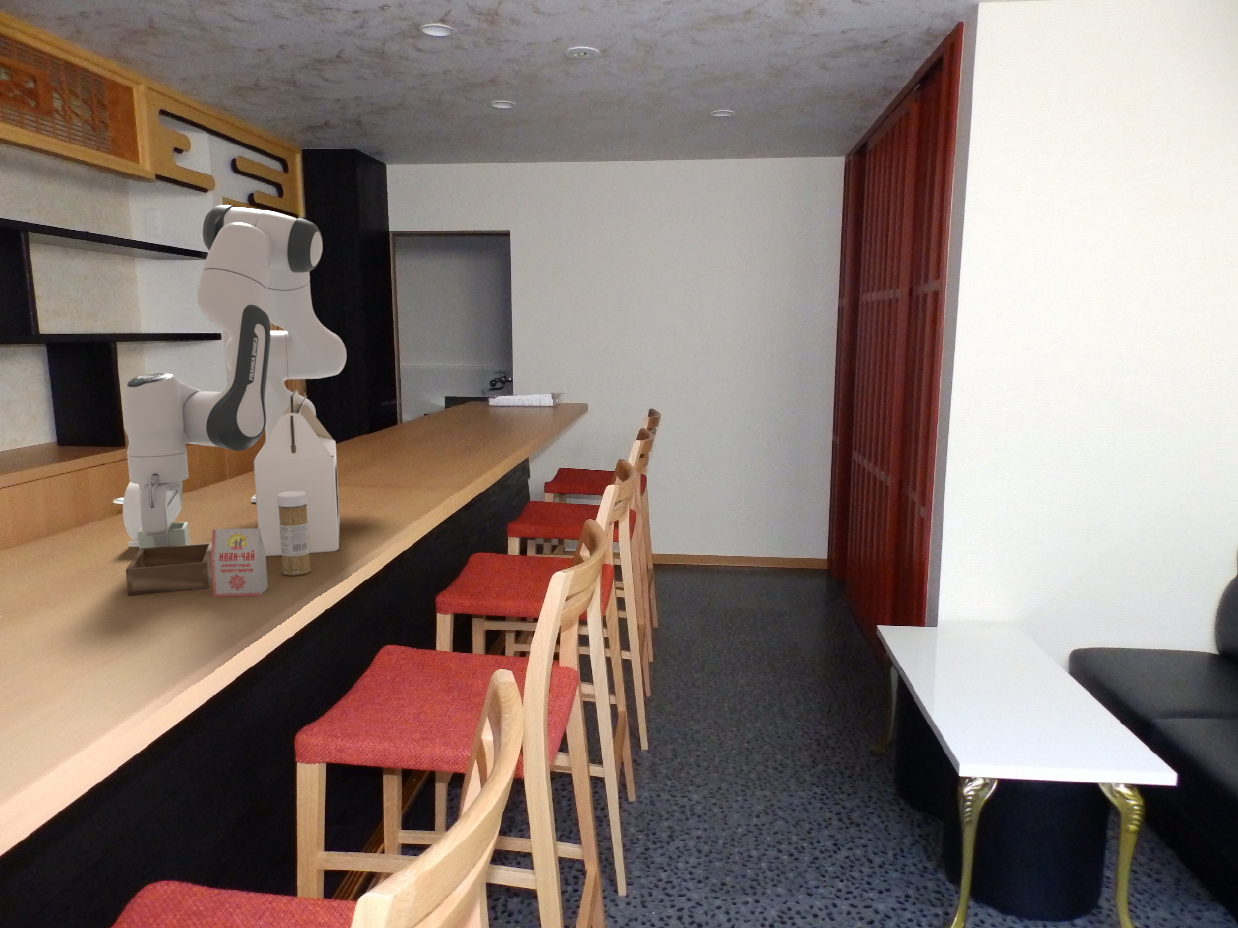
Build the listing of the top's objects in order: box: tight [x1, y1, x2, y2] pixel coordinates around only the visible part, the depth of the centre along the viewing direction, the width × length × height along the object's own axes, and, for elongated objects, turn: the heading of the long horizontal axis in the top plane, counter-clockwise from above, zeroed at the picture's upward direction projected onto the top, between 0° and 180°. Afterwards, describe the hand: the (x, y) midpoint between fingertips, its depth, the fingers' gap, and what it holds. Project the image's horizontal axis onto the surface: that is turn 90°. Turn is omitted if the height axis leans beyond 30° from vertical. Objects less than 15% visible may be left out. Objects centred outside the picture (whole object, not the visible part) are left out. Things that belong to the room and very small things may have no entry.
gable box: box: [253, 389, 341, 557], centre depth 158 cm, size 22×13×28 cm, turn 18°
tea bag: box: [211, 527, 268, 598], centre depth 128 cm, size 4×7×10 cm, turn 96°
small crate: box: [138, 521, 191, 550], centre depth 144 cm, size 7×6×6 cm
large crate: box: [125, 542, 212, 596], centre depth 134 cm, size 13×11×4 cm
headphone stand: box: [122, 481, 141, 548], centre depth 155 cm, size 5×6×12 cm
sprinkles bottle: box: [277, 491, 312, 576], centre depth 137 cm, size 5×5×14 cm
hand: (165, 548), depth 145 cm, fingers closed on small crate, 5 cm apart
